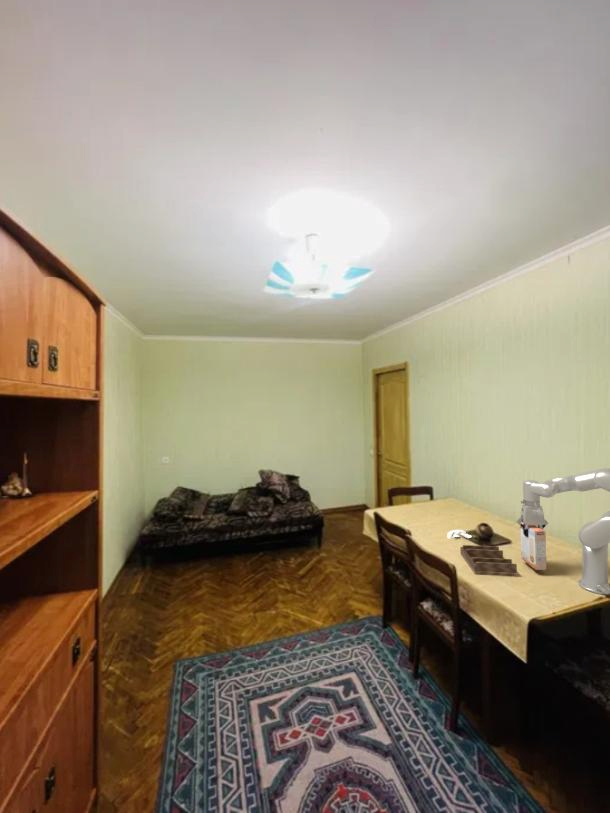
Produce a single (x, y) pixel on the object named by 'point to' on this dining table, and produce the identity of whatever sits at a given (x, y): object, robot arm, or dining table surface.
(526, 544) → the cracker box
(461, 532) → the cloth
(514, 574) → the rack
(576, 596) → the dining table surface
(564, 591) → the dining table surface
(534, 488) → the robot arm
